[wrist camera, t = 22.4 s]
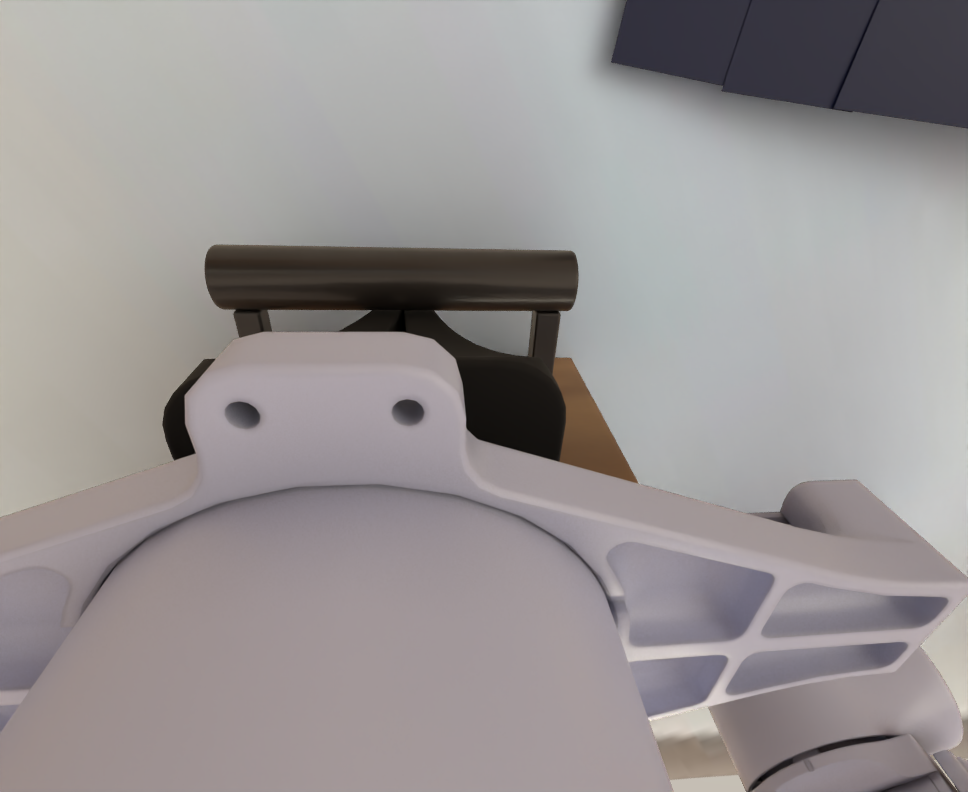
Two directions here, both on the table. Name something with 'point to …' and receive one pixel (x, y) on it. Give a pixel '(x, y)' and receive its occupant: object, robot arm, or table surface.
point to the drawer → (424, 306)
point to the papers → (812, 51)
